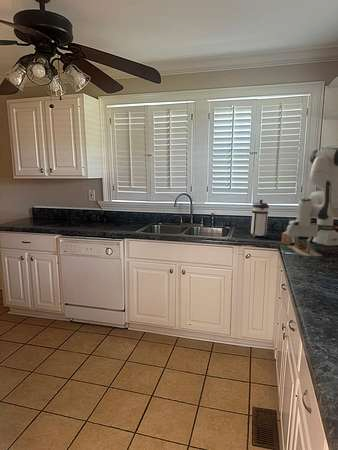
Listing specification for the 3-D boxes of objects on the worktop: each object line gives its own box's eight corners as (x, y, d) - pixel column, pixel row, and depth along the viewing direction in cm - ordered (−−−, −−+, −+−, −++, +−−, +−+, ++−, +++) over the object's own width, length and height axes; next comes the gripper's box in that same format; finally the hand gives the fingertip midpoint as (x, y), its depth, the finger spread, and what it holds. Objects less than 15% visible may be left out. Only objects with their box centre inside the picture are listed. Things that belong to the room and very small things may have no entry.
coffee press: (272, 236, 253) (275, 200, 247) (259, 239, 244) (262, 201, 238) (255, 232, 267) (258, 198, 261) (242, 234, 258) (245, 198, 252)
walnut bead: (302, 247, 216) (303, 241, 215) (306, 249, 210) (307, 243, 209) (294, 246, 216) (294, 241, 215) (297, 249, 210) (298, 243, 209)
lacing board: (306, 248, 219) (307, 236, 218) (323, 258, 196) (324, 245, 194) (286, 247, 219) (287, 236, 217) (301, 257, 195) (302, 244, 194)
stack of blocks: (289, 246, 222) (291, 230, 220) (280, 245, 226) (282, 228, 224) (298, 241, 239) (300, 226, 237) (289, 240, 243) (291, 224, 240)
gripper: (316, 222, 213) (313, 242, 215) (286, 221, 212) (284, 241, 214) (320, 224, 206) (318, 244, 209) (290, 222, 206) (288, 243, 208)
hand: (300, 242), depth 212 cm, fingers open, 8 cm apart
